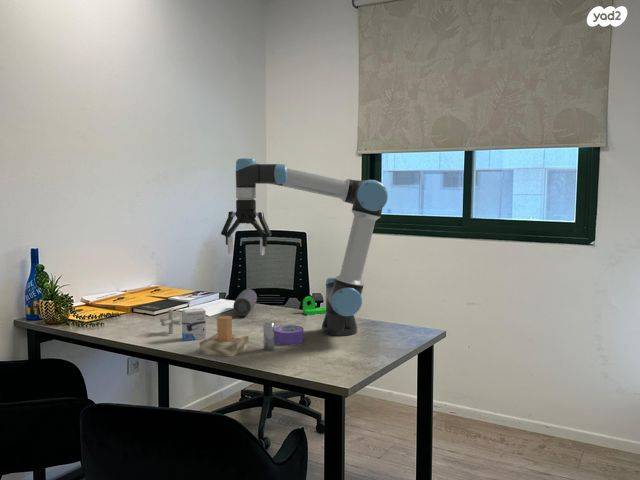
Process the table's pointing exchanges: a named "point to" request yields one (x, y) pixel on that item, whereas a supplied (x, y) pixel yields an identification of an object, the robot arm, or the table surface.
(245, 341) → the socket block
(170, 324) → the pipe connector
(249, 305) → the bluetooth speaker
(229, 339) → the square bit
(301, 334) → the tape roll
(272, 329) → the round bit
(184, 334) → the ink box
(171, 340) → the table surface
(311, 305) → the mechanical part
